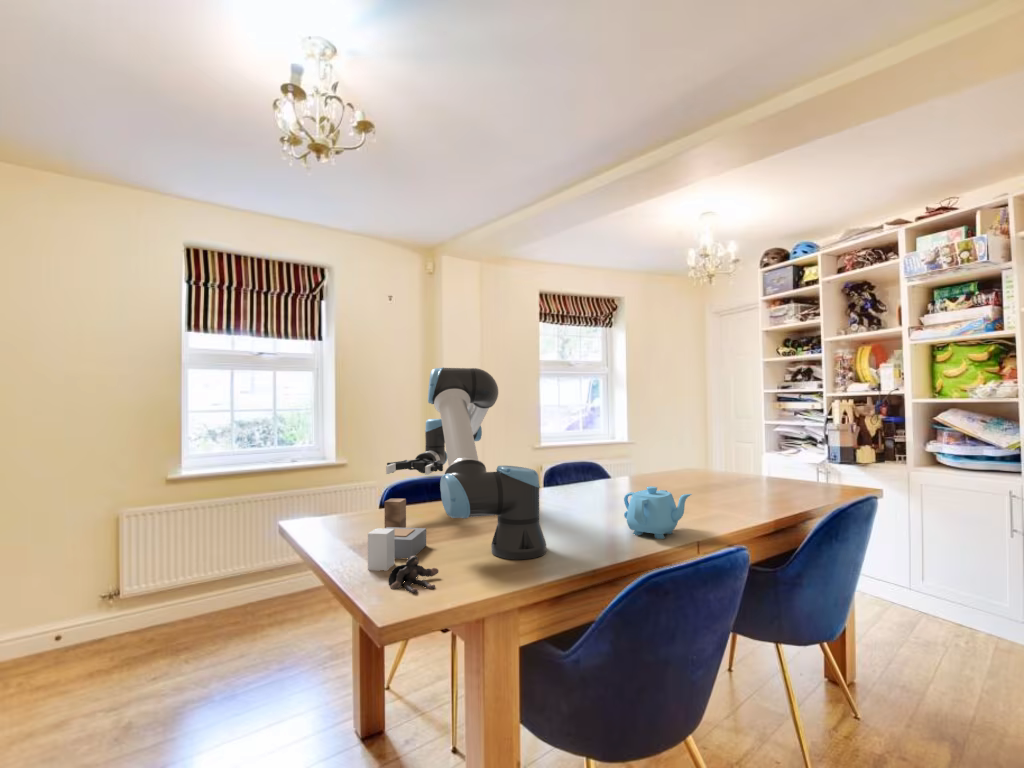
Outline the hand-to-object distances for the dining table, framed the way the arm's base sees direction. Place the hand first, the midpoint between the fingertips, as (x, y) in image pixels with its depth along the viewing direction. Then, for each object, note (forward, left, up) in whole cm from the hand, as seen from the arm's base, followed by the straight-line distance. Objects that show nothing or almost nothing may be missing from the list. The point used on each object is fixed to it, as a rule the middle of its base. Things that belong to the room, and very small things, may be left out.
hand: (406, 470), depth 165 cm
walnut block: (-3, +9, -19) cm, 21 cm away
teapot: (-75, -29, -19) cm, 83 cm away
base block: (-15, +21, -19) cm, 32 cm away
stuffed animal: (-34, +37, -20) cm, 54 cm away
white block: (-20, +33, -19) cm, 43 cm away
